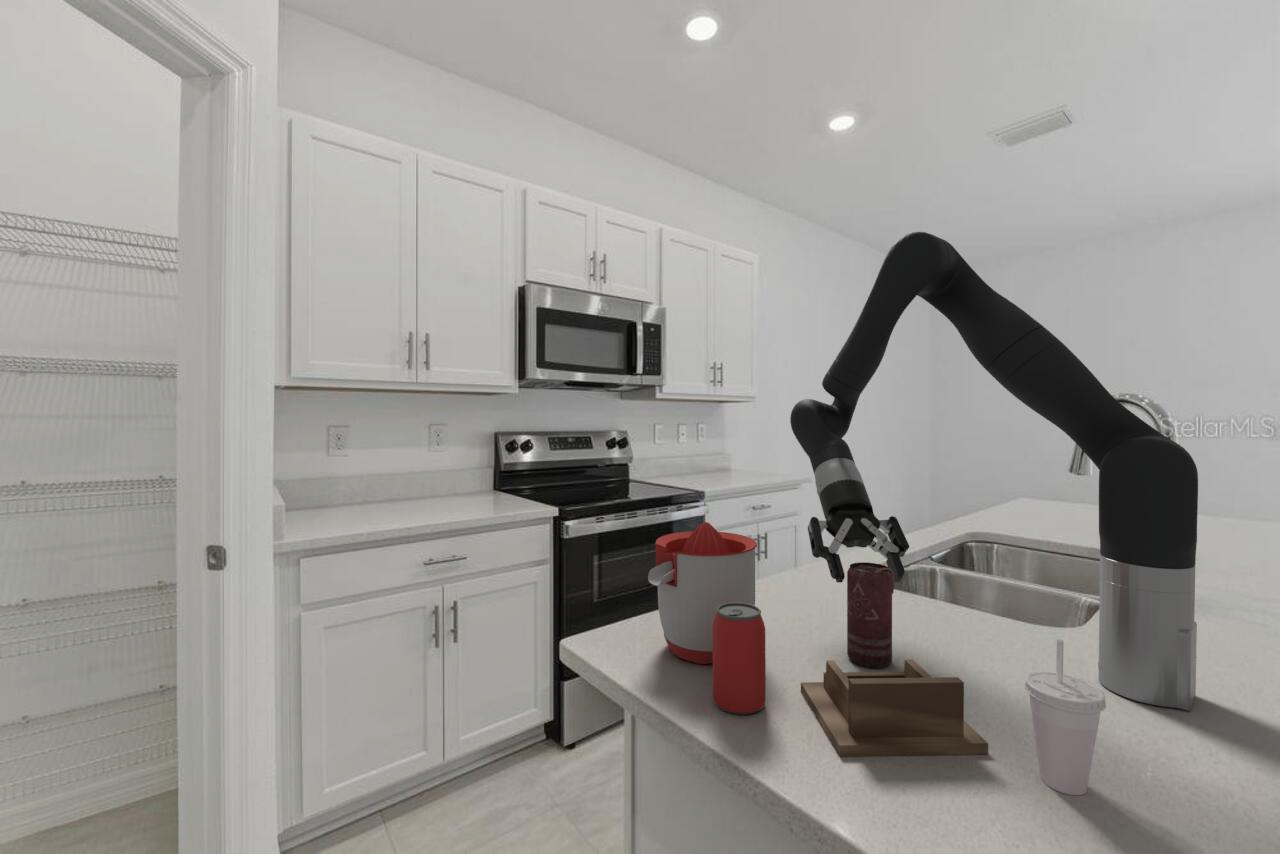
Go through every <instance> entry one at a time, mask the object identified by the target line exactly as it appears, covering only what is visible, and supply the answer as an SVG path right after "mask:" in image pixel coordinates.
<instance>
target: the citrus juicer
mask: <svg viewBox="0 0 1280 854" xmlns="http://www.w3.org/2000/svg"><path fill="white" fill-rule="evenodd" d="M756 548H758V543H757V542H756V540H754V539H753V538H752V537H749V536H746V535H742V534H737V533H733V532H727V531H726V532H725V531H718V530H717V529H716V528H715V527H714V526H713V525H712V524H711V523H709V522H707V521H702V523H701V524H699V525H698V526H697V527H696V528H695V530H693V531H691V530H690V531H681V532H674V533H673V532H672V533H669V534H665V535H662V536H659V537H658V538H657V539H656V540H655V566H654V567H653V568H651V569H650V570H649V572H648V573H647V574H648V576H647V581H648V583H649V584H651V585H653V586H656V587H657V604H658V613H659V618H660V619H659V621H660V624H661V627H662V630H663V636H664V639H665V641H666V644H667V646H668V648H669V650H670V652H671V653H672V654H673V655H674V656H676V657H678V658H680V659H683V660H685V661H689V662H692V663H695V664H697V665H705V664H713V630H712V626H713V621H714V618H715V616H716V613H717V611H716V609H717V607H718V606H720V605H722V604H725V603H734V602H739V603H747V604H751V605H754V606H756Z"/></svg>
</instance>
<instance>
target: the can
mask: <svg viewBox="0 0 1280 854" xmlns="http://www.w3.org/2000/svg"><path fill="white" fill-rule="evenodd" d="M846 583H847V584H846V585H847V586H846V587H847V588H846V589H847V590H846V592H847V593H846V595H847V598H846V599H847V601H846V602H847V603H846V606H847V607H846V610H847V611H846V612H847V615H846V621H847V622H846V626H847V627H846V628H847V629H846V631H847V632H846V635H847V636H846V637H847V639H846V645H847V646H846V648H847V649H846V653H847V656H848V658H849V660H850V661H851V662H852V663H853V664H855V665H857V666H858V667H863V668H867V669H873V670H879V669H884V668H887V667H888V666H890V665H891V664H892V662H893V594H894V591H895V582H894V572H893V571H892V570H891V569H890V568H888V566H887V565H884V564H881V563H875V562H854V563H851V564H850V565H849V568H848V570H847V571H846Z"/></svg>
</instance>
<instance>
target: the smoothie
mask: <svg viewBox="0 0 1280 854" xmlns="http://www.w3.org/2000/svg"><path fill="white" fill-rule="evenodd" d="M1064 643H1065V642H1064V640H1063V639H1058V638H1057V639H1056V662H1055V663H1056V666H1055V667H1056V671H1055V672H1051V671H1050V672H1048V671H1040V672H1032V673H1029V674H1028V675H1026V676H1025V684H1024V689H1025V691H1026V693H1028V694H1029V703H1030V712H1031V719H1032V725H1033V726H1032V727H1033V732H1034V740H1035V748H1036V755H1037V763H1038V770H1039V777H1040V780H1041V781H1042V782H1043V783H1044V784H1045V785H1046V786H1047V787H1050V788H1051V789H1053V790H1055V791H1057V792H1059V793H1062V794H1066V795H1071V796H1082V795H1084V794H1086V793H1087V791H1088V785H1089V780H1090V774H1091V770H1092V762H1093V757H1094V752H1095V746H1096V740H1097V734H1098V729H1099V724H1100V720H1101V719H1100V718H1101V712H1102V711H1105V709H1106V708H1107V704H1106V695H1105V693H1104V692H1103V691H1102V690H1101V689H1100V688H1099V687H1097V686H1095V685H1094V684H1092V683H1090V682H1088V681H1085V680H1083V679H1082V678H1078V677H1075V676H1071V675H1067V674H1064V651H1065V650H1064V649H1065V647H1064Z"/></svg>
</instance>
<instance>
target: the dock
mask: <svg viewBox="0 0 1280 854" xmlns="http://www.w3.org/2000/svg"><path fill="white" fill-rule="evenodd" d="M903 664H904V667H903V668H904V670H903V671H902V670H900V671H851V672H850V671H849V672H848V671H843V669H842V668H841V667H840V666H839V665H838V663H837V662H836V661H835V660H825V667H826V669H825V670H826V671H825V672H823V681H821V682H820V681H819V682H818V681H817V682H816V681H815V682H814V681H813V682H811V681H810V682H809V681H808V682H807V681H806V682H800V693H801V694H802V696H803V698H804V699H805V701H806V703H807V704H808V706H809V708H810V709H811V711H812V712H813V714H814V716H815V718H816V719H817V721H818V723H819V725H820V726H821V727H822V729H823V732H825V734H826V736H827V737H828V740H829V741H830V743H831V745H832V747H833V748H834V750H835V751H836V753H837V755H838V756H839V757H886V756H887V757H888V756H889V757H890V756H891V757H892V756H893V757H894V756H895V757H898V756H903V757H904V756H949V755H950V756H955V755H957V756H959V755H960V756H961V755H963V756H964V755H969V756H970V755H989V742H988V741H986V740H985V739H984V738H983V737H982V736H981V735H980V734H979V733H978V732H977V731H976V730H974V728H973V727H971V725H969V724H968V723H967V722H966V721H965V719H964V718H965V717H964V716H965V715H964V713H965V712H964V710H965V709H964V708H965V707H964V706H965V700H964V699H965V694H964V693H965V689H964V688H965V682H964V681H963V680H962V679H960V678H959V677H957V676H953V677H951V676H949V677H948V676H947V677H946V676H945V677H943V676H942V677H939V676H938V677H937V676H936V677H933V676H932V675H931V674H930V673H928V672H927V671H926V670H925V669H924V668H923V667H921V666H920V665H919V664H918V663H917V662H916V661H915V660H913V659H904V663H903Z"/></svg>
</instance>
